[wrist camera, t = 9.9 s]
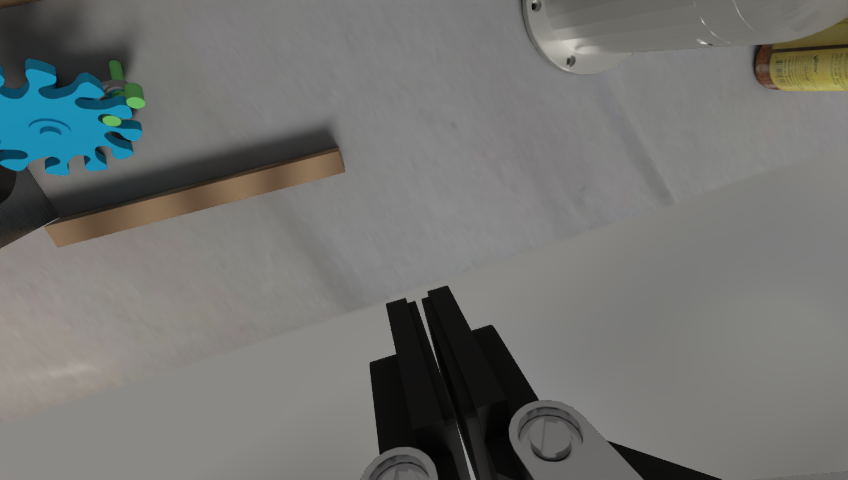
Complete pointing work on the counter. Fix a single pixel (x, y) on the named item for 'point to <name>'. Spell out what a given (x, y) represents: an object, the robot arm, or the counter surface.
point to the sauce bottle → (806, 62)
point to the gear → (66, 118)
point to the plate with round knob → (21, 205)
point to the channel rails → (190, 193)
